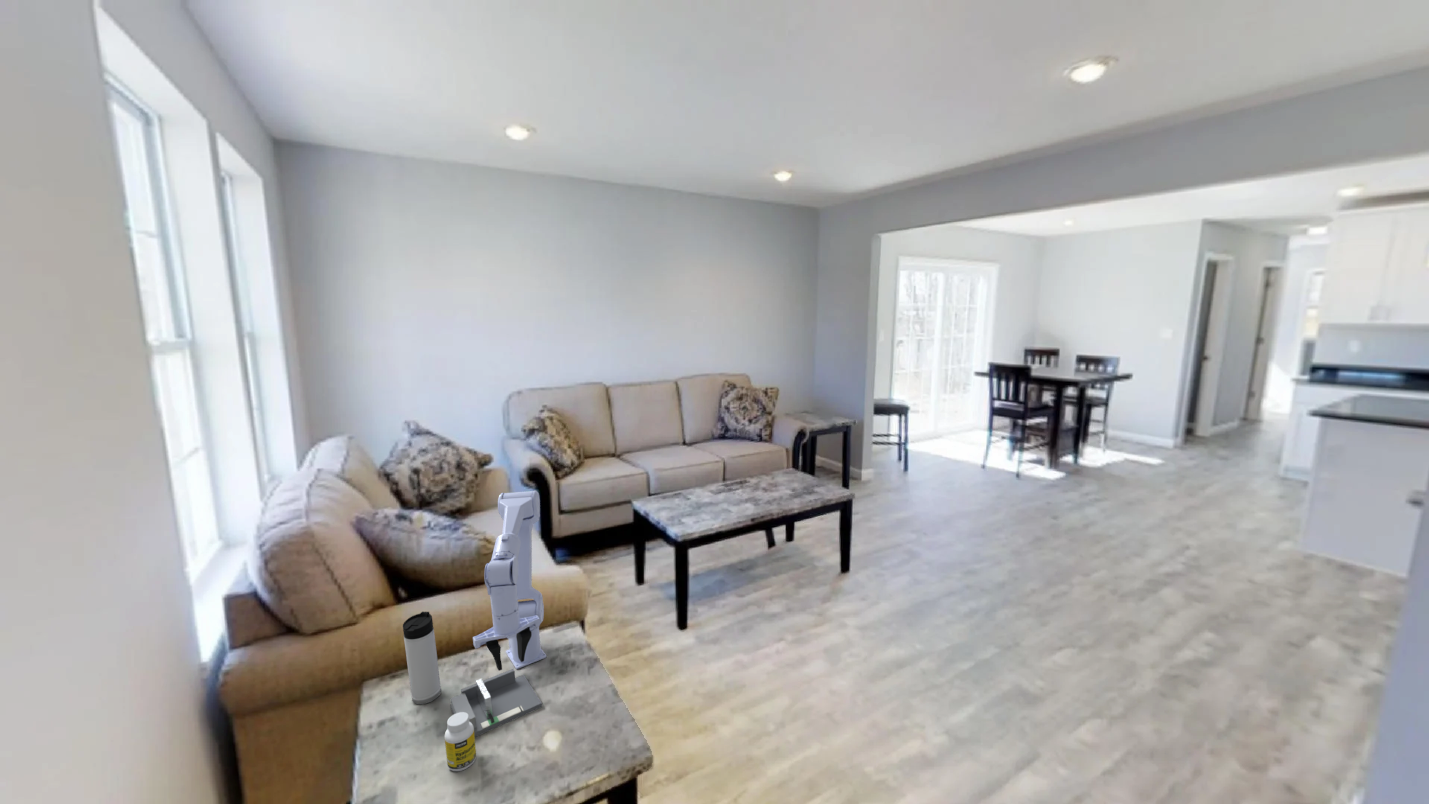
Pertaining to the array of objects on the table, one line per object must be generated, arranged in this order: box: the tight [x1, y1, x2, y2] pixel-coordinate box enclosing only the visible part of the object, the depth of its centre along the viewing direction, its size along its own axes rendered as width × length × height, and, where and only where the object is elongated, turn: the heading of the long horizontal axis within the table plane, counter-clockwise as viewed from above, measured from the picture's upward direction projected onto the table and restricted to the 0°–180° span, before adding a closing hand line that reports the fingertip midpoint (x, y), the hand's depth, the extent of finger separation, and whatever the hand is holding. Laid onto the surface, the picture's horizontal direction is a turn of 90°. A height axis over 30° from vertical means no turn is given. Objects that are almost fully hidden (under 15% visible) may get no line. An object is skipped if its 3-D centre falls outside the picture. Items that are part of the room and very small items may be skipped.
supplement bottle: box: [444, 712, 477, 772], centre depth 112 cm, size 5×5×10 cm
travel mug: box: [402, 611, 442, 705], centre depth 132 cm, size 6×7×20 cm
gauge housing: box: [449, 668, 543, 738], centre depth 128 cm, size 13×17×4 cm
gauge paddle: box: [475, 678, 494, 723], centre depth 125 cm, size 11×1×5 cm, turn 37°
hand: (510, 663), depth 129 cm, fingers open, 4 cm apart
